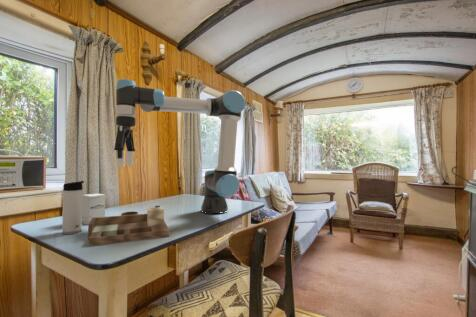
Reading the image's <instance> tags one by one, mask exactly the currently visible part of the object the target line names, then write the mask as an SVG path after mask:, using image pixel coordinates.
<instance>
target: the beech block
mask: <svg viewBox="0 0 476 317" xmlns="http://www.w3.org/2000/svg"><path fill="white" fill-rule="evenodd" d="M146 210H147V212H146V214H147V224H148V226H153V225H163V224H164V221H165V209H164V208H163V207H162V206H160V207H155V206H154V207H147V209H146Z"/></svg>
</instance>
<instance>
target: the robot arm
mask: <svg viewBox="0 0 476 317" xmlns="http://www.w3.org/2000/svg"><path fill="white" fill-rule="evenodd" d="M115 90H116V91H115V96H116V97H115V102H116V103H115V104H116V107H115V108H114V111H115V112H116V117H115V125H116V126H117V131H116V136H115V145H114V148H113V150H114V151H116V167H117V168H122V167H123V168H124V167H125V165H126V166H128V167H129V166H131V167H133V166H134V152H136V149H135V141H134V140H135V139H134V130H133V129H131V127H135V126H136V118H135V117H136V115H137V112H136V111H137V110H136V108H137V107H136V105H139V107H140V109H141V110H142V111H143V112H147V113H149V112H150V113H151V112H169V113H185V114H186V113H187V114H200V115H201V114H203V115H206V116H208V117H217V118H219V119H220V132H219V143H218V157H217V166H216V167H215V168H214V170H212V169H211V170H207V171H205V173H204V198H203V201H202V203H201V206H200V212H201V211H203V212H206V213H220V212H225V211H227V210H228V211H229V206H228V204H227V200H226V198H231V197H233V196H234V195H236V194H237V193H238V191H239V189H240V180H239V178H238V177H237V172H238V171H237V169H236V168H235V162H236V161H235V160H236V149H237V148H236V147H237V146H236V145H237V136H238V135H237V134H238V133H237V132H238V123H239V121H240V120H241V118H242V112H243V111H244V109H245V107H246V99H245V97H244V96H243V94H242V93H241V92H240V91H238V90H233V89H231V90H229V91H226V92H224V93H223V94H221V95H220V96H218V97H212V98H211V97H208V98H206V99H199V98H186V97H175V96H165V91H164V90H163V89H158V88H149V87H142V86H137V83H136V81H134V80H132V79H127V78H121V79H118V80H117V81H116V89H115ZM125 147H126V151H125ZM125 154H126V156H125ZM125 157H126V158H125ZM125 161H126V162H125ZM206 213H205V214H206Z"/></svg>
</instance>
